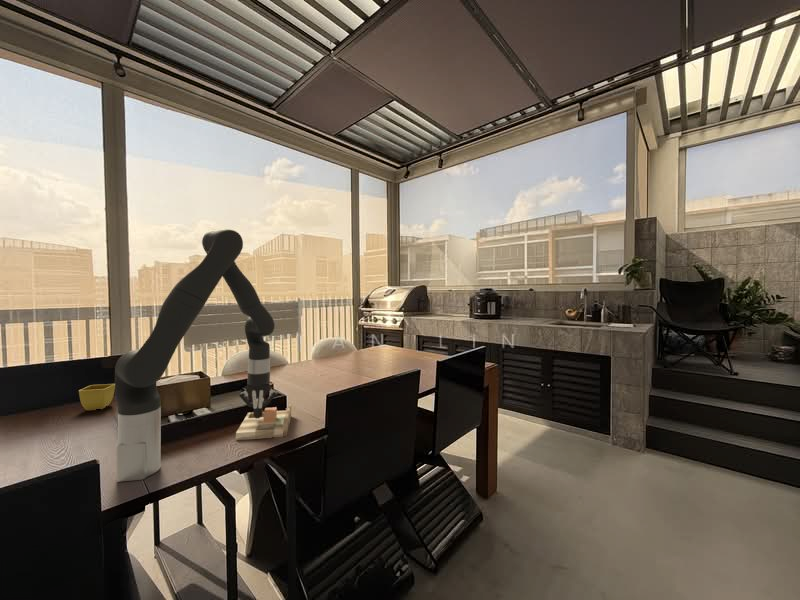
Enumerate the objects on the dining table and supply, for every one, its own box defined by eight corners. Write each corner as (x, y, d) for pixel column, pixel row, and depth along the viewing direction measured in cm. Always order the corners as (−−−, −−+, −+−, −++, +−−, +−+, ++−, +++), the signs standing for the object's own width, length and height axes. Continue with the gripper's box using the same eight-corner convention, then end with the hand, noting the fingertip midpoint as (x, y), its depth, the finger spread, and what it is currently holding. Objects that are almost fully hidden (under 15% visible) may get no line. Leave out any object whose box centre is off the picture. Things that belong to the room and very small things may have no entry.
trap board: (286, 436, 115) (286, 422, 115) (235, 440, 112) (236, 425, 111) (291, 416, 134) (291, 404, 134) (248, 419, 130) (248, 406, 130)
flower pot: (90, 405, 141) (90, 384, 141) (115, 404, 144) (115, 383, 144) (78, 413, 133) (78, 390, 132) (104, 411, 135) (104, 389, 135)
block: (275, 421, 121) (275, 410, 121) (263, 422, 120) (263, 411, 120) (276, 417, 125) (276, 407, 125) (265, 418, 124) (265, 407, 124)
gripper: (236, 373, 117) (235, 422, 117) (276, 372, 120) (275, 420, 120) (241, 368, 124) (240, 415, 124) (279, 367, 127) (278, 413, 127)
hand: (258, 417), depth 122 cm, fingers closed
